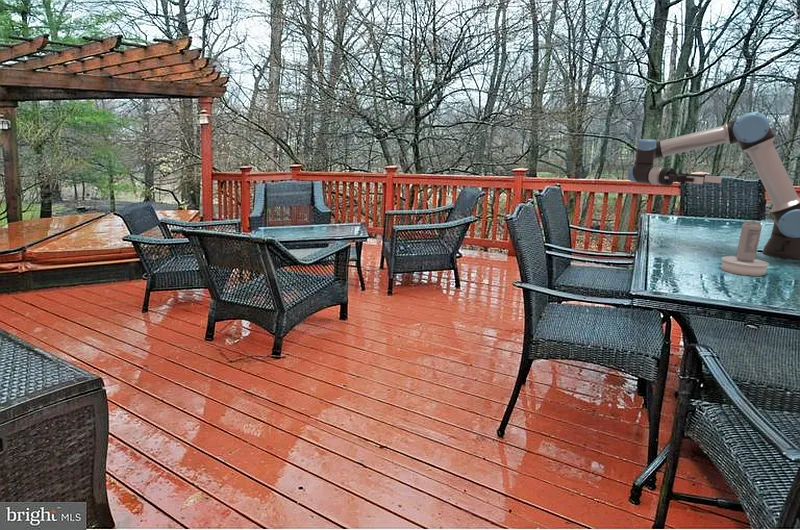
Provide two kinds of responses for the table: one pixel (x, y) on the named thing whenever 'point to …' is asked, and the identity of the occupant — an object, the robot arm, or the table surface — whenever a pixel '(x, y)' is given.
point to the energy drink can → (749, 241)
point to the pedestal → (744, 266)
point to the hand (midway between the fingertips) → (712, 180)
